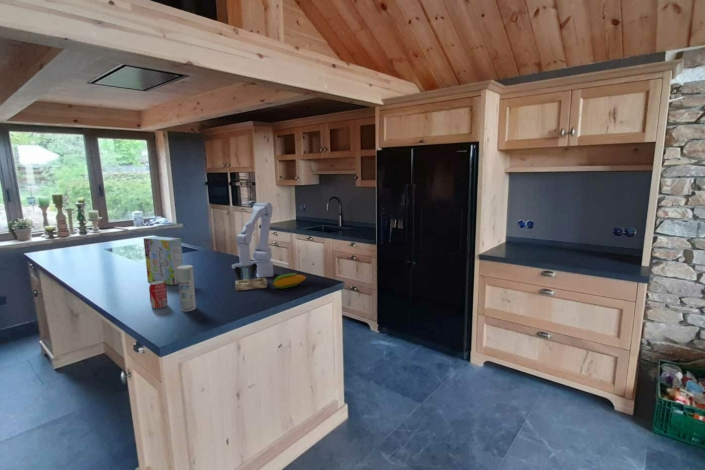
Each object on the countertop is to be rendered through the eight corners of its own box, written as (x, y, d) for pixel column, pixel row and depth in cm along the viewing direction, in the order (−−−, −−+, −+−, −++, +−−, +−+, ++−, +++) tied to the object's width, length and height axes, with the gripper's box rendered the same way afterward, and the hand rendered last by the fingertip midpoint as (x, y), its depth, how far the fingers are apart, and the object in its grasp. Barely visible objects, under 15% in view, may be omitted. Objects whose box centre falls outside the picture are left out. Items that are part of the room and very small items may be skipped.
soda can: (155, 304, 178) (152, 280, 176) (170, 303, 178) (168, 279, 176) (148, 309, 171) (145, 284, 169) (164, 309, 171) (161, 284, 169)
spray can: (198, 306, 175) (194, 264, 171) (193, 311, 168) (189, 268, 165) (184, 306, 175) (180, 265, 171) (178, 311, 168) (174, 268, 165)
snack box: (186, 282, 214) (182, 237, 210) (173, 286, 206) (168, 240, 202) (159, 277, 223) (155, 235, 219) (146, 281, 215) (141, 237, 211)
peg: (248, 282, 211) (247, 266, 210) (249, 283, 209) (248, 267, 207) (243, 282, 210) (242, 267, 209) (243, 284, 208) (242, 268, 206)
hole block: (265, 283, 209) (265, 277, 209) (267, 287, 202) (266, 281, 201) (235, 286, 204) (235, 280, 203) (236, 291, 196) (235, 284, 196)
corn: (269, 274, 199) (301, 268, 211) (269, 288, 201) (301, 281, 213) (276, 278, 193) (308, 271, 206) (276, 292, 195) (308, 284, 208)
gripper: (253, 252, 214) (254, 274, 217) (229, 255, 205) (230, 279, 208) (259, 254, 209) (260, 277, 211) (234, 258, 200) (235, 282, 202)
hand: (246, 278), depth 209 cm, fingers open, 7 cm apart
